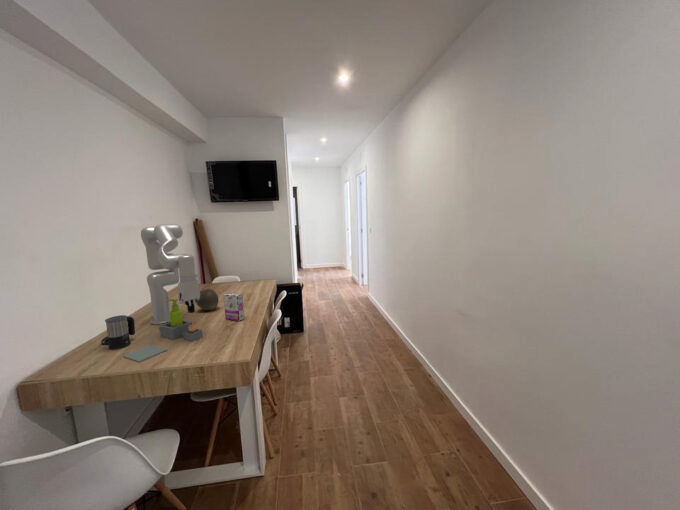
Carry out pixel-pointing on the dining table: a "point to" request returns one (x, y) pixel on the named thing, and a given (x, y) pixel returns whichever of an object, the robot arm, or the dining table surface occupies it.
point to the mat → (145, 353)
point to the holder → (179, 331)
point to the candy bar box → (234, 306)
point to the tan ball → (192, 328)
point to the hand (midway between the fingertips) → (191, 312)
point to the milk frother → (119, 331)
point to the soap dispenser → (175, 314)
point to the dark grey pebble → (207, 299)
